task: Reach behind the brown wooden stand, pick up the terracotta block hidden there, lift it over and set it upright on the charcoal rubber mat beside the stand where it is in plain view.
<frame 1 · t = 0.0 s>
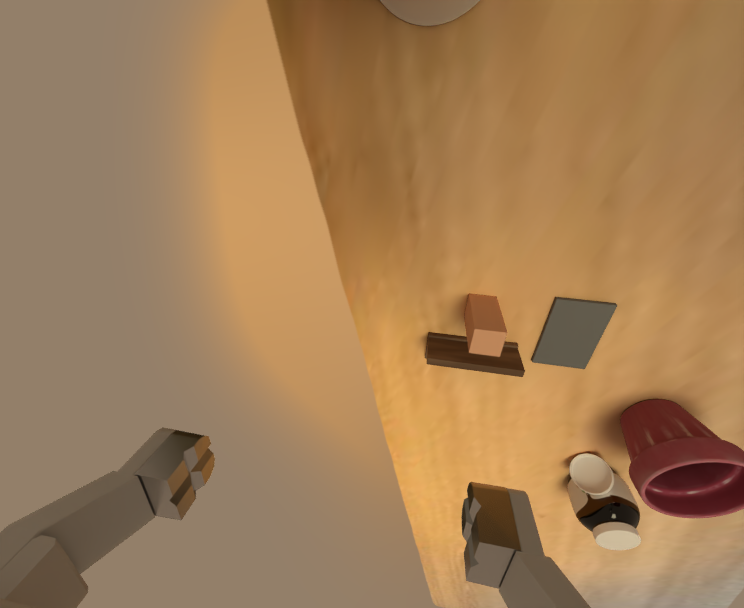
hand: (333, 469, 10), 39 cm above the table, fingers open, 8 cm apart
charcoal mat: (570, 333, 50), on the table
plant pot: (650, 416, 56), on the table
spread jar: (587, 469, 66), on the table
brown wooden stand: (471, 342, 54), on the table
terracotta block: (479, 306, 50), on the table
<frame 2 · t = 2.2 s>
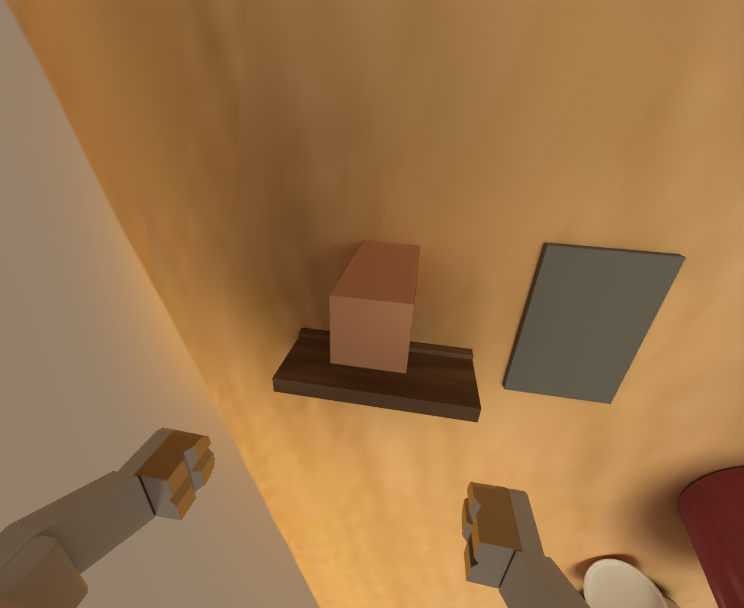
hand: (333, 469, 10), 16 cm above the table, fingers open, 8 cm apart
charcoal mat: (578, 328, 24), on the table
plant pot: (738, 497, 29), on the table
spread jar: (613, 581, 37), on the table
brown wooden stand: (383, 348, 27), on the table
terracotta block: (389, 269, 24), on the table
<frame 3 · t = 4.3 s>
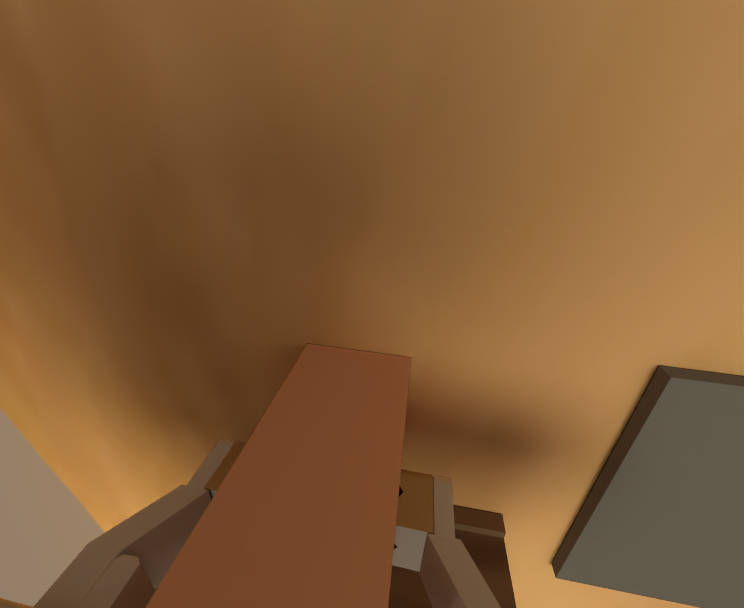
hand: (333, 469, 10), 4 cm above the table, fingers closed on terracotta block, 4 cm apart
charcoal mat: (703, 502, 13), on the table
brown wooden stand: (352, 499, 16), on the table
terracotta block: (356, 391, 13), on the table, touching gripper
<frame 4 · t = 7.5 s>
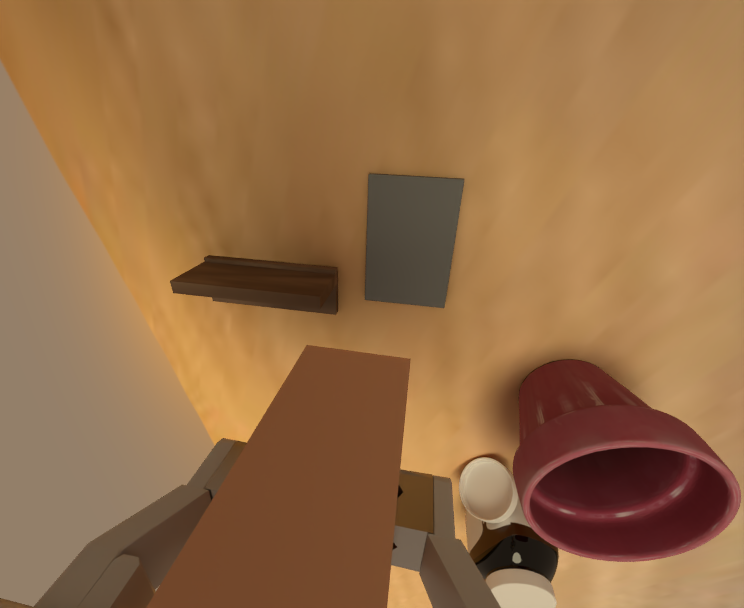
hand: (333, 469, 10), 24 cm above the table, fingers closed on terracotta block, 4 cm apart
charcoal mat: (409, 244, 31), on the table
plant pot: (563, 391, 36), on the table
spread jar: (492, 483, 44), on the table
brown wooden stand: (272, 270, 34), on the table
terracotta block: (356, 392, 13), point 20 cm above the table, touching gripper
when the fingers open (5 cm above the table, at t = 11.0 s): terracotta block stays where it is, resting on charcoal mat.
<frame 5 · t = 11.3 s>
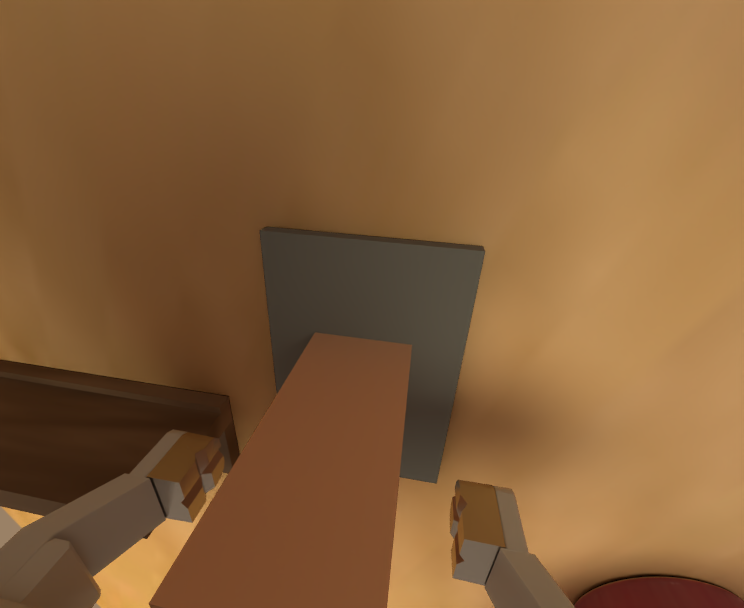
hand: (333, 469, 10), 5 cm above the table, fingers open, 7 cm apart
charcoal mat: (364, 368, 15), on the table
brown wooden stand: (113, 391, 18), on the table
terracotta block: (361, 377, 14), point 1 cm above the table, touching charcoal mat
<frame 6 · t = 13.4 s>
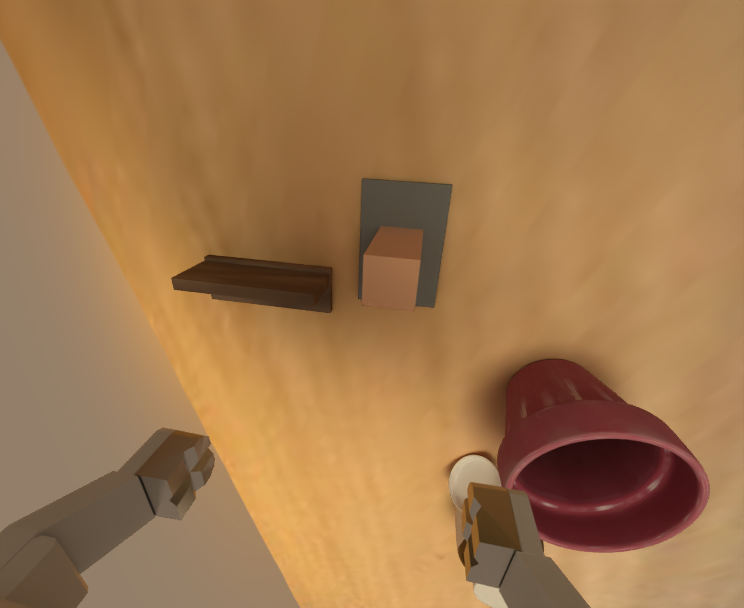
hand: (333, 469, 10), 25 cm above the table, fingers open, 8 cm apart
charcoal mat: (401, 246, 32), on the table
plant pot: (548, 389, 37), on the table
spread jar: (482, 481, 45), on the table
brown wooden stand: (269, 269, 36), on the table
terracotta block: (400, 248, 32), point 1 cm above the table, touching charcoal mat
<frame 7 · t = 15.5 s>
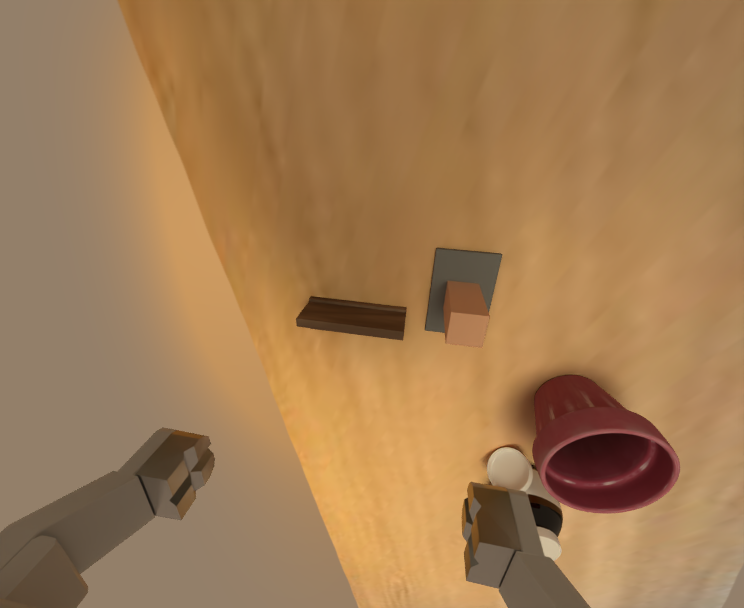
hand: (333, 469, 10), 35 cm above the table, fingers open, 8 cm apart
charcoal mat: (460, 293, 44), on the table
plant pot: (566, 397, 49), on the table
spread jar: (511, 468, 57), on the table
brown wooden stand: (357, 308, 48), on the table
terracotta block: (460, 295, 44), point 1 cm above the table, touching charcoal mat
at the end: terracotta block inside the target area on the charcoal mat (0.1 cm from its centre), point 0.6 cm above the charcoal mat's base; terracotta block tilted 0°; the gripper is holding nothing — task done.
